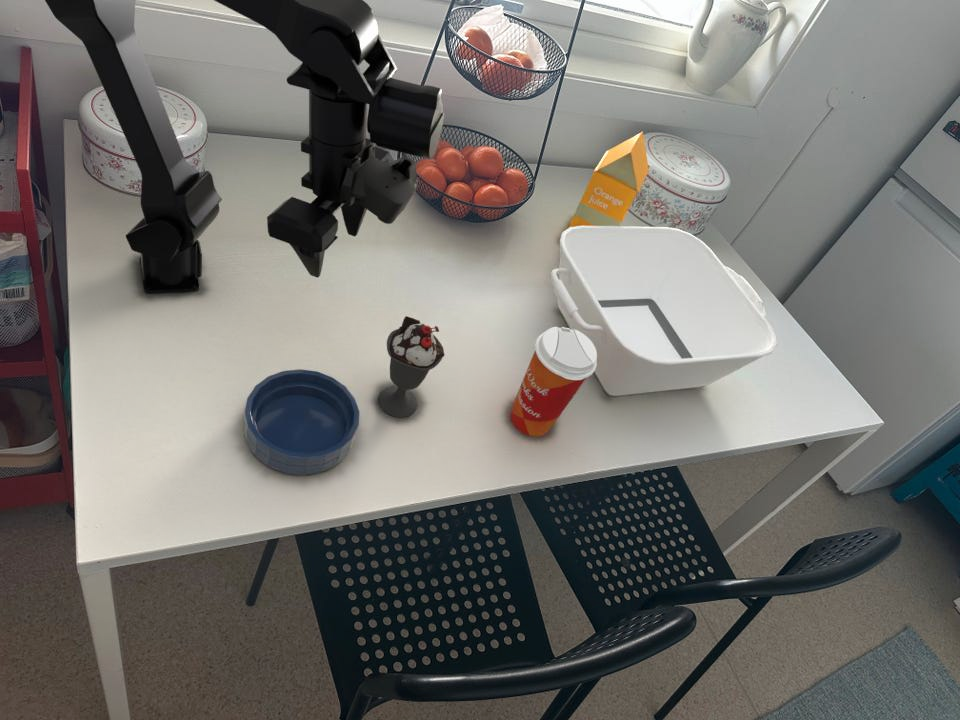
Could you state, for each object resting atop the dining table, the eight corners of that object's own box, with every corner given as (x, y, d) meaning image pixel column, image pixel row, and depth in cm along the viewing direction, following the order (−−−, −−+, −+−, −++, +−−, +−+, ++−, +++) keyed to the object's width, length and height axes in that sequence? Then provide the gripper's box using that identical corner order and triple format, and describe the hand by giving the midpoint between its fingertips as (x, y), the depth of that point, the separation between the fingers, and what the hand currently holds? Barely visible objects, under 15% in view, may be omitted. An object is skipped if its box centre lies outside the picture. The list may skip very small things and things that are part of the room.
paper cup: (499, 393, 94) (534, 318, 84) (553, 399, 96) (594, 327, 86) (505, 441, 89) (544, 367, 79) (562, 447, 91) (607, 376, 81)
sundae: (417, 430, 86) (448, 346, 75) (364, 412, 85) (388, 325, 75) (430, 392, 90) (461, 308, 80) (380, 374, 90) (404, 288, 80)
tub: (673, 285, 123) (711, 227, 114) (760, 407, 107) (811, 351, 98) (498, 290, 108) (526, 224, 99) (569, 432, 93) (609, 368, 84)
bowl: (254, 486, 75) (256, 466, 72) (235, 396, 82) (236, 375, 79) (366, 467, 80) (371, 448, 78) (339, 385, 87) (343, 364, 84)
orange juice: (560, 242, 122) (607, 140, 108) (574, 219, 128) (621, 119, 114) (601, 263, 121) (654, 162, 107) (613, 238, 127) (665, 140, 113)
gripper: (368, 200, 65) (360, 325, 76) (444, 120, 78) (427, 236, 89) (260, 162, 66) (268, 290, 77) (352, 90, 80) (347, 208, 91)
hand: (334, 254), depth 84 cm, fingers open, 9 cm apart
